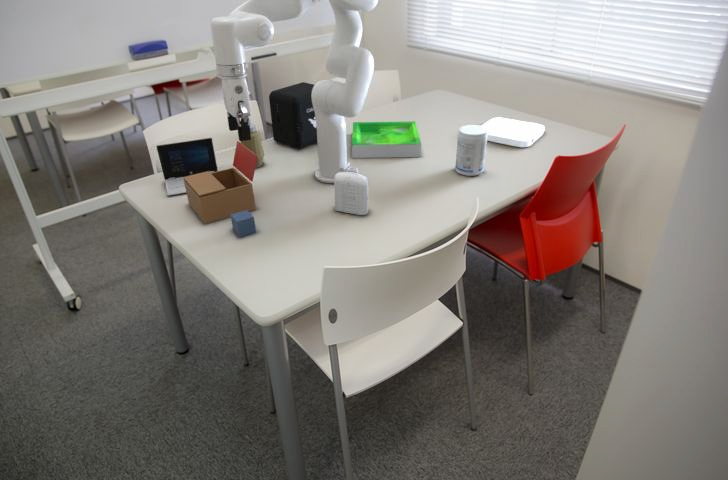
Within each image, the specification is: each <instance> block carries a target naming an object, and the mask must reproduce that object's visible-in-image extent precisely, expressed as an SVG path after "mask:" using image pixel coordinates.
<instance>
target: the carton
mask: <svg viewBox="0 0 728 480" xmlns="http://www.w3.org/2000/svg"><path fill="white" fill-rule="evenodd" d="M212 172H213V171H212ZM182 178H184V184H185V188H186V193H185V194H186V196H187V201H188V205H189V206H190V207H191V209H192V210H193V211H194V213H195V214H196V215H197V216H198V218H200V220H201V221H202V222H203V224H204V225H207V224H210V223H214V222H217V221H221V220H223V219H227V218H231V216H230V215H231V214H234V213H238V212H241V211H245V210H248V211H249V212H252V211H255V210H257V209H256V201H255V195H254V193H255V192H254V187H253V183H252V182H251V181H250V180H249V179H248V178H247V177H246V176H244V175H243V174H242V173H241V172H240V171H239V170H238V169H236V168H235V167H234V166H233V167H229V168H225V169H221V170H218V171H217V172H213V173H210V172H209V171H207V172H203V173H198V174H194V175H190V176H186V177H182Z"/></svg>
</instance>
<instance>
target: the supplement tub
mask: <svg viewBox="0 0 728 480" xmlns="http://www.w3.org/2000/svg"><path fill="white" fill-rule="evenodd" d="M487 132H488V130H487V129H486V128H485V127H482V125H478V124H477V125H476V124H468V125H467V124H466V125H462V126H460V127H459V128H458V133H457V143H456V154H455V157H456V158H455V168H454V169H455V171H456V173H458V174H460V175H463V176H468V177H473V176H478V175H481V174H482V173H483V172H484V170H485V161H486V152H487V143H488V141H487V135H488V134H487Z"/></svg>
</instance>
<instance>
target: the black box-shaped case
mask: <svg viewBox="0 0 728 480" xmlns="http://www.w3.org/2000/svg"><path fill="white" fill-rule="evenodd" d="M314 85H315V84H314V83H309V82H304V81H303V82H299V83H296V84H292V85H288V86H285V87H281V88H278V89H275V90H272V91H271V92H270V94H269V97H268V101H269V109H270V110H269V111H270V119H271V128H272V136H273V141H274V142H275V143H278V144H280V145H284V146H287V147H290V148H293V149H296V150H298V151H299V150H302V149H305V148H308V147H310V146H312V145H316V144H318V142H317V126H316V117H315V112H314V108H313V104H312V98H311V94H312V89H313V87H314Z"/></svg>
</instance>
